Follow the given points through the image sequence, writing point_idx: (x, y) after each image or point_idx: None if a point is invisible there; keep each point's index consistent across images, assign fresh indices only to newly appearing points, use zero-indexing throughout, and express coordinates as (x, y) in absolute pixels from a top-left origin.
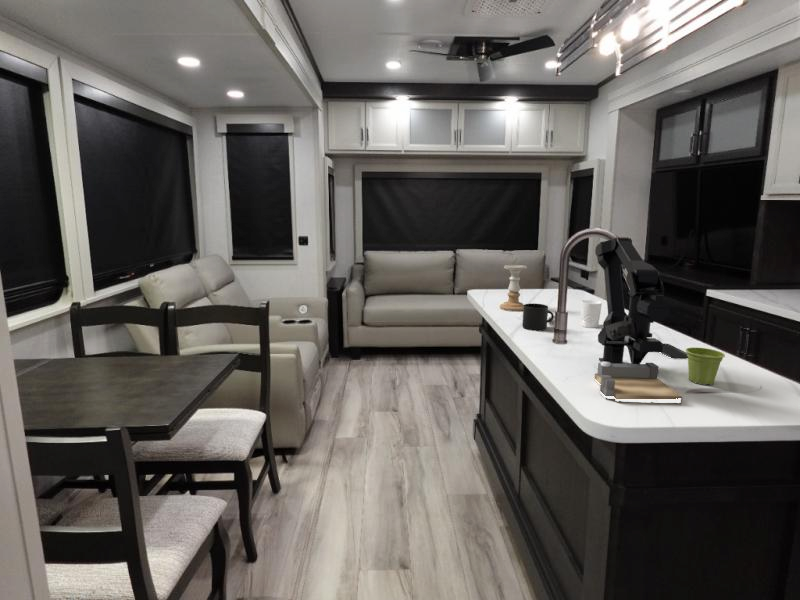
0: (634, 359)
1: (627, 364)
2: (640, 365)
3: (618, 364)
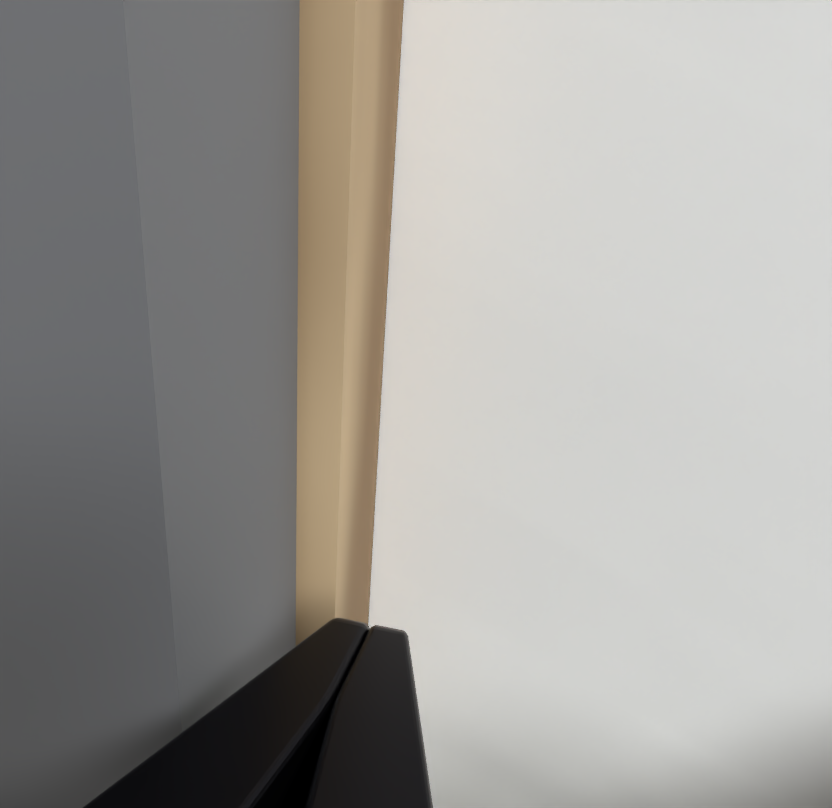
0: (126, 804)
1: (97, 464)
2: (67, 737)
3: (31, 128)
